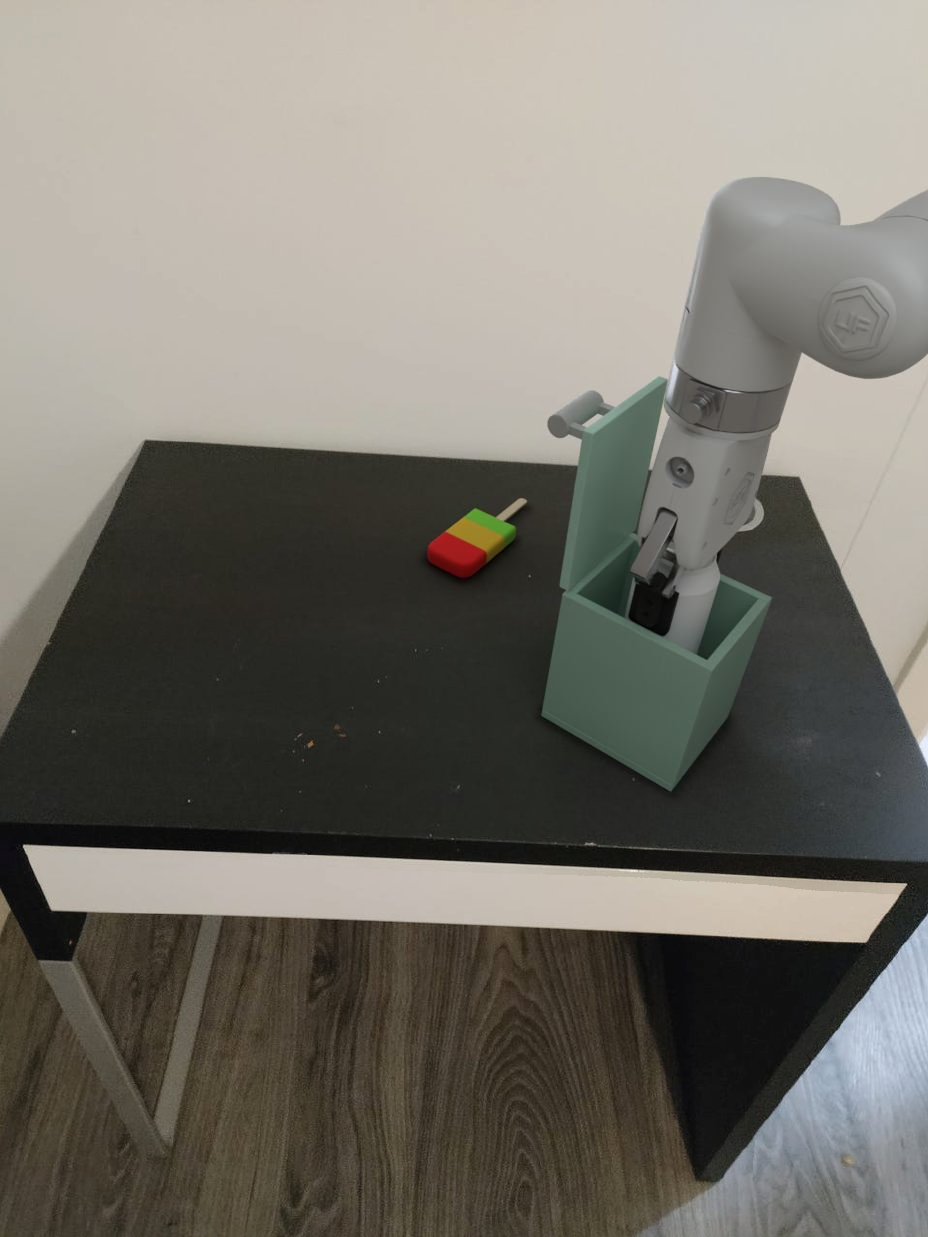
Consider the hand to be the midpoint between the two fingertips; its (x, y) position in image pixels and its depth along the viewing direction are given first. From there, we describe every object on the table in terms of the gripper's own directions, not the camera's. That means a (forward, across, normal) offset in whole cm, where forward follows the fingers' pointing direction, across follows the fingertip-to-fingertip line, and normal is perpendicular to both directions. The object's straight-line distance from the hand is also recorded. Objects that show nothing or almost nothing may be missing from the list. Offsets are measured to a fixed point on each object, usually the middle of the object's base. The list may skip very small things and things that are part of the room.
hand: (670, 601), depth 71 cm
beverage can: (+7, 0, 0) cm, 7 cm away
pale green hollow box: (+13, 0, 0) cm, 13 cm away
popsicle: (+13, +12, +25) cm, 31 cm away
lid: (-8, 0, +6) cm, 10 cm away
